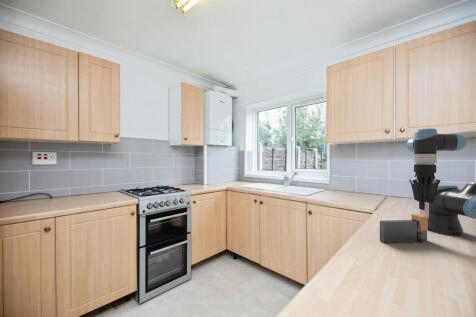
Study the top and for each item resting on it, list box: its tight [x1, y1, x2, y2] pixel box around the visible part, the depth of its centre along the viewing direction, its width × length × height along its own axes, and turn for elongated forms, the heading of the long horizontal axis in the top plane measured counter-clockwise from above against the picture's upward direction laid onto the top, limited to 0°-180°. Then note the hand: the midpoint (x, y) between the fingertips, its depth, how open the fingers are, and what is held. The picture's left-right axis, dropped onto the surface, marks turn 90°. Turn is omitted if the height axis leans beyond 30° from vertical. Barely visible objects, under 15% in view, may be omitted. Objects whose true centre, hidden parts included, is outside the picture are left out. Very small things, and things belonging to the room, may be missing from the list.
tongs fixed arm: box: [379, 219, 428, 244], centre depth 92 cm, size 22×3×9 cm, turn 95°
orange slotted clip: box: [410, 213, 429, 232], centre depth 93 cm, size 3×4×6 cm
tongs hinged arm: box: [381, 220, 418, 244], centre depth 91 cm, size 15×1×9 cm, turn 94°
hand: (424, 216), depth 93 cm, fingers closed
